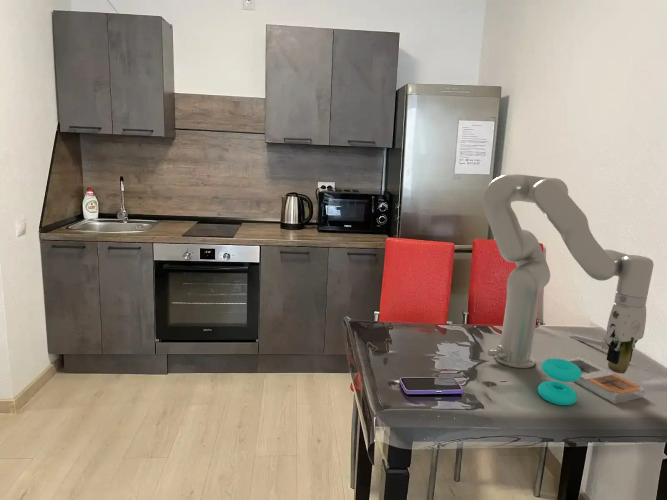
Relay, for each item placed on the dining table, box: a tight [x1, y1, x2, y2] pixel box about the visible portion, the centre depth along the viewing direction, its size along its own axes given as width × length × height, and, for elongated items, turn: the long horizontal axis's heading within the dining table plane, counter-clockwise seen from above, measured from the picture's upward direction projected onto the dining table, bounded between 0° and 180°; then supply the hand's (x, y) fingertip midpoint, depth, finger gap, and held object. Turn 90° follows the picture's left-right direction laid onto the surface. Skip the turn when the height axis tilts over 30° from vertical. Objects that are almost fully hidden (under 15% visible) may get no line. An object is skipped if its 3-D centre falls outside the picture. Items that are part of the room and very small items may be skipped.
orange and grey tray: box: [563, 356, 646, 405], centre depth 150 cm, size 12×22×3 cm, turn 24°
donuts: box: [537, 357, 583, 406], centre depth 138 cm, size 10×10×10 cm
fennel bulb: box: [607, 336, 634, 375], centre depth 143 cm, size 6×5×12 cm
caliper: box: [569, 334, 609, 350], centre depth 177 cm, size 20×1×6 cm, turn 23°
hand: (618, 360), depth 143 cm, fingers closed on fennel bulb, 4 cm apart
